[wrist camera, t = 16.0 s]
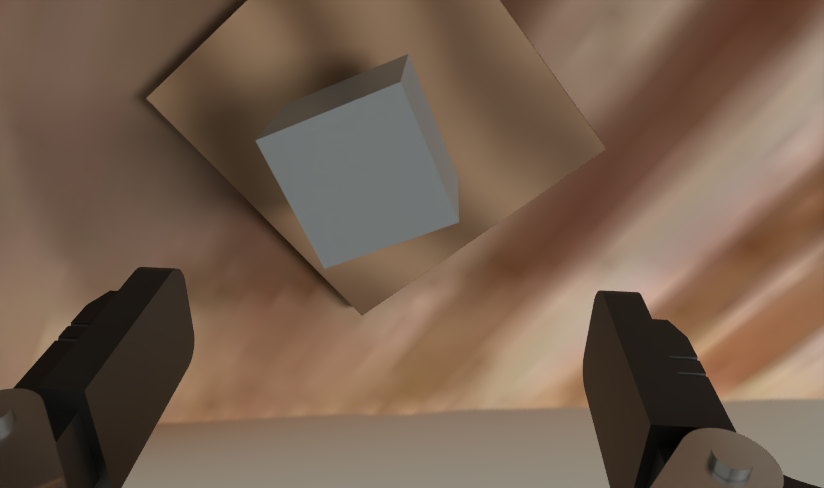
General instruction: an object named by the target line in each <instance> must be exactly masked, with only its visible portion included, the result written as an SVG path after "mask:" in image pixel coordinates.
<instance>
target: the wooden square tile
mask: <svg viewBox="0 0 824 488" xmlns="http://www.w3.org/2000/svg"><path fill="white" fill-rule="evenodd" d="M406 54H409V57H410V59H411V62H412V64H413V67H414V69H415V72H416V74H417V77H418V79H419V81H420V84H421V86H422V89H423V91H424V94H425V96H426V99H427V101H428V104H429V106H430V109H431V111H432V114H433V116H434V118H435V121H436V123H437V126H438V128H439V131H440V133H441V136H442V138H443V141H444V143H445V146H446V148H447V151H448V153H449V155H450V158H451V160H452V163H453V165H454V168H455V170H456V173H457V175H458V200H459V223H456V224H453V225H450V226H447V227H444V228H441V229H438V230H435V231H433V232H430V233H427V234H424V235H421V236H418V237H415V238H412V239H409V240H407V241H404V242H401V243H398V244H395V245H392V246H389V247H386V248H383V249H381V250H378V251H375V252H372V253H369V254H366V255H363V256H360V257H357V258H354V259H352V260H349V261H346V262H343V263H340V264H337V265H334V266H331V267H328V268H326V269H324V267H323V266H322V264H321V262H320V260H319V258H318V256H317V254H316V253H315V251H314V249H313V247H312V245H311V243H310V241H309V239H308V238H307V236H306V234H305V232H304V230H303V228H302V226H301V225H300V223H299V221H298V219H297V217H296V215H295V213H294V212H293V210H292V208H291V206H290V204H289V202H288V200H287V199H286V197H285V195H284V193H283V191H282V189H281V187H280V186H279V184H278V182H277V180H276V178H275V176H274V174H273V173H272V171H271V169H270V167H269V165H268V163H267V161H266V159H265V158H264V156H263V154H262V152H261V150H260V148H259V146H258V145H257V143H256V141H255V140H256V139H257V138H258V137H259V136H260V134H261V133H262V132H263V131H264V129H265V128H266V127H267V126H268V125H269V123H270V122H271V121H272V120H273V119H274V117H275V116H276V115H277V114H278V113H279V111H280V110H281V109H282V108H283V106H284V105H286V104H288V103H290V102H293V101H295V100H298V99H300V98H303V97H305V96H307V95H310V94H312V93H315V92H317V91H319V90H322V89H324V88H327V87H329V86H332V85H334V84H336V83H339V82H341V81H344V80H346V79H348V78H351V77H353V76H356V75H358V74H361V73H363V72H365V71H368V70H370V69H373V68H375V67H377V66H380V65H382V64H385V63H387V62H390V61H392V60H394V59H397V58H399V57H402V56H404V55H406ZM146 99H147V100H148V101H149V102H150V103H151V104H152V105H153V106H154V107H155V108H156V109H157V110H158V111H159V112H160V113H161V114H162V115H163V116H164V117H165V118H166V119H167V120H168V121H169V122H170V123H171V124H172V125H173V126H174V127H175V128H176V129H177V130H178V131H179V132H180V133H181V134H182V135H183V136H184V137H185V138H186V139H187V140H188V141H189V142H190V143H191V144H192V145H193V146H194V147H195V148H196V149H197V150H198V151H199V152H200V153H201V154H202V155H203V156H204V157H205V158H206V159H207V160H208V161H209V162H210V163H211V164H212V165H213V166H214V167H215V168H216V169H217V170H218V171H219V172H220V173H221V174H222V175H223V176H224V177H225V178H226V179H227V180H228V181H229V182H230V183H231V184H232V185H233V186H234V187H235V188H236V189H237V190H238V191H239V192H240V193H241V194H242V195H243V196H244V197H245V198H246V199H247V200H248V201H249V202H250V203H251V204H252V205H253V206H254V207H255V208H256V209H257V210H258V211H259V212H260V213H261V215H262V216H263V217H264V218H265V219H266V220H267V221H268V222H269V223H270V224H271V225H272V226H273V227H274V228H275V229H276V230H277V231H278V232H279V233H280V234H281V235H282V236H283V237H284V238H285V239H286V240H287V241H288V242H289V243H290V244H291V245H292V246H293V247H294V248H295V249H296V250H297V251H298V252H299V253H300V254H301V255H302V256H303V257H304V258H305V259H306V260H307V261H308V262H309V263H310V264H311V265H312V266H313V267H314V268H315V269H316V270H317V271H318V272H319V273H320V274H321V275H322V276H323V277H324V278H325V279H326V280H327V281H328V282H329V283H330V284H331V285H332V286H333V287H334V288H335V289H336V290H337V291H338V292H339V293H340V294H341V295H342V296H343V297H344V298H345V299H346V300H347V301H348V302H349V303H350V304H351V305H352V306H353V307H354V308H355V309H356V310H357V311H358V312H359V313H360V314H361V315H364V314H365V313H367V312H368V311H369V310H371V309H372V308H374V307H375V306H377V305H378V304H380V303H381V302H383V301H384V300H386V299H387V298H389V297H390V296H391V295H393V294H394V293H396V292H397V291H399V290H400V289H402V288H403V287H405V286H406V285H408V284H409V283H411V282H412V281H413V280H415V279H416V278H418V277H419V276H421V275H422V274H424V273H425V272H427V271H428V270H430V269H431V268H432V267H434V266H435V265H437V264H438V263H440V262H441V261H443V260H444V259H446V258H447V257H449V256H450V255H452V254H453V253H454V252H456V251H457V250H459V249H460V248H462V247H463V246H465V245H466V244H468V243H469V242H471V241H472V240H474V239H475V238H476V237H478V236H479V235H481V234H482V233H484V232H485V231H487V230H488V229H490V228H491V227H493V226H494V225H496V224H497V223H498V222H500V221H501V220H503V219H504V218H506V217H507V216H509V215H510V214H512V213H513V212H515V211H516V210H518V209H519V208H520V207H522V206H523V205H525V204H526V203H528V202H529V201H531V200H532V199H534V198H535V197H537V196H538V195H539V194H541V193H542V192H544V191H545V190H547V189H548V188H550V187H551V186H553V185H554V184H556V183H557V182H559V181H560V180H561V179H563V178H564V177H566V176H567V175H569V174H570V173H572V172H573V171H575V170H576V169H578V168H579V167H581V166H582V165H583V164H585V163H586V162H588V161H589V160H591V159H592V158H594V157H595V156H597V155H598V154H600V153H601V152H603V151H604V150H605V149H606V148H605V146H604V145H603V143H602V142H601V140H600V139H599V137H598V136H597V135H596V133H595V132H594V130H593V129H592V128H591V126H590V125H589V124H588V122H587V121H586V119H585V118H584V117H583V115H582V114H581V112H580V111H579V110H578V108H577V107H576V105H575V104H574V103H573V101H572V100H571V98H570V97H569V96H568V94H567V93H566V91H565V90H564V89H563V87H562V86H561V84H560V83H559V82H558V80H557V79H556V77H555V76H554V75H553V73H552V72H551V71H550V69H549V68H548V66H547V65H546V64H545V62H544V61H543V59H542V58H541V57H540V55H539V54H538V52H537V51H536V50H535V48H534V47H533V45H532V44H531V43H530V41H529V40H528V38H527V37H526V36H525V34H524V33H523V31H522V30H521V29H520V27H519V26H518V25H517V23H516V22H515V20H514V19H513V18H512V16H511V15H510V13H509V12H508V11H507V9H506V8H505V6H504V5H503V4H502V2H501V1H500V0H247V1H246V2H245V3H244V4H243V5H242V6H241V7H240V8H239V9H238V10H237V11H236V12H235V13H234V14H232V15H231V16H230V17H229V18H228V19H227V20H226V21H225V22H224V23H223V24H222V25H221V26H220V27H219V28H218V29H217V30H216V31H215V32H214V33H213V34H212V35H211V36H210V37H209V38H208V39H207V40H206V41H205V42H204V43H203V44H202V45H201V46H200V47H198V48H197V49H196V50H195V51H194V52H193V53H192V54H191V55H190V56H189V57H188V58H187V59H186V60H185V61H184V62H183V63H182V64H181V65H180V66H179V67H178V68H177V69H176V70H175V71H174V72H173V73H172V74H171V75H170V76H169V77H168V78H167V79H166V80H164V81H163V82H162V83H161V84H160V85H159V86H158V87H157V88H156V89H155V90H154V91H153V92H152V93H151V94H150V95H149V96H148V97H147V98H146Z"/></svg>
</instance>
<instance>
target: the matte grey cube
mask: <svg viewBox="0 0 824 488" xmlns="http://www.w3.org/2000/svg"><path fill="white" fill-rule="evenodd" d="M255 141H256V143H257V145H258V146H259V148H260V150H261V152H262V154H263V156H264V158H265V159H266V161H267V163H268V165H269V167H270V169H271V171H272V173H273V174H274V176H275V178H276V180H277V182H278V184H279V186H280V187H281V189H282V191H283V193H284V195H285V197H286V199H287V200H288V202H289V204H290V206H291V208H292V210H293V212H294V213H295V215H296V217H297V219H298V221H299V223H300V225H301V226H302V228H303V230H304V232H305V234H306V236H307V238H308V239H309V241H310V243H311V245H312V247H313V249H314V251H315V253H316V254H317V256H318V258H319V260H320V262H321V264H322V266H323V267H324V269H326V268H328V267H331V266H334V265H337V264H340V263H343V262H346V261H349V260H352V259H354V258H357V257H360V256H363V255H366V254H369V253H372V252H375V251H378V250H381V249H383V248H386V247H389V246H392V245H395V244H398V243H401V242H404V241H407V240H409V239H412V238H415V237H418V236H421V235H424V234H427V233H430V232H433V231H435V230H438V229H441V228H444V227H447V226H450V225H453V224H456V223H459V200H458V175H457V173H456V170H455V168H454V165H453V163H452V160H451V158H450V155H449V153H448V151H447V148H446V146H445V143H444V141H443V138H442V136H441V133H440V131H439V128H438V126H437V123H436V121H435V118H434V116H433V114H432V111H431V109H430V106H429V104H428V101H427V99H426V96H425V94H424V91H423V89H422V86H421V84H420V81H419V79H418V77H417V74H416V72H415V69H414V67H413V64H412V62H411V59H410V57H409V54H406V55H404V56H402V57H399V58H397V59H394V60H392V61H390V62H387V63H385V64H382V65H380V66H377V67H375V68H373V69H370V70H368V71H365V72H363V73H361V74H358V75H356V76H353V77H351V78H348V79H346V80H344V81H341V82H339V83H336V84H334V85H332V86H329V87H327V88H324V89H322V90H319V91H317V92H315V93H312V94H310V95H307V96H305V97H303V98H300V99H298V100H295V101H293V102H290V103H288V104H286V105H284V106H283V108H282V109H281V110H280V111H279V113H278V114H277V115H276V116H275V117H274V119H273V120H272V121H271V122H270V123H269V125H268V126H267V127H266V128H265V129H264V131H263V132H262V133H261V134H260V136H259V137H258V138H257V139H256V140H255Z"/></svg>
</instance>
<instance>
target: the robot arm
mask: <svg viewBox="0 0 824 488" xmlns="http://www.w3.org/2000/svg"><path fill="white" fill-rule="evenodd" d="M193 350H194V330H193V324H192V319H191V313H190V307H189V301H188V295H187V290H186V284H185V279H184V275H183V273H182V272H181V270H179V269H172V268H152V267H139V268H137V269H136V270H135V271H134V272H133V274H132V275H131V276H130V277H129V278H128V280H127V281H126V282H125V283H124V284H123V286H122V287H121V288H120V289H119V290H118V291H109V292H107V293H106V294H104V295H102V296H101V297H99V298H97V299H96V300H94V301H92V302H91V303H89V304H88V305H86V306H85V307H84V308H83V310H82V311H81V312H80V313H79V314H78V315H77V316H76V318H75V319H74V320H73V321H72V322H71V326H68V327H67V328H66V329H65V330H64V331H63V332H62V333H61V335H60V336H59V339H58V341H54V343H53V344H52V345H51V346H50V347H49V348H48V349H47V350H46V352H45V353H44V354H43V355H42V356H41V357H40V358H39V360H38V361H37V362H36V363H35V364H34V365H33V366H32V368H31V369H30V370H29V371H28V372H27V373H26V374H25V375H24V377H23V378H22V379H21V380H20V381H19V382H18V383H17V385H16V386H15V387H14V388H12V389H3V390H0V488H121V487H122V486H123V484H124V482H125V480H126V478H127V477H128V475H129V473H130V471H131V469H132V468H133V466H134V464H135V462H136V460H137V458H138V456H139V455H140V453H141V451H142V450H143V448H144V446H145V444H146V442H147V441H148V439H149V437H150V435H151V433H152V431H153V429H154V428H155V426H156V424H157V422H158V421H159V419H160V417H161V415H162V413H163V412H164V410H165V408H166V406H167V404H168V403H169V401H170V399H171V397H172V395H173V394H174V392H175V390H176V388H177V386H178V385H179V383H180V381H181V379H182V377H183V376H184V374H185V372H186V370H187V368H188V367H189V364H190V362H191V359H192V355H193ZM583 381H584V388H585V392H586V396H587V400H588V404H589V407H590V411H591V415H592V419H593V423H594V426H595V431H596V434H597V438H598V442H599V446H600V450H601V453H602V457H603V461H604V465H605V469H606V473H607V477H608V480H609V485H610V488H821V487H817V486H814V485H810V484H807V483H804V482H800V481H798V480H795V479H792V478H790V477H787V476H785V475H783V473H782V470H781V468H780V466H779V464H778V463H777V461H776V460H775V459H774V457H773V456H772V455H771V454H770V453H769V452H768V451H767V450H765V449H764V448H763V447H762V446H760V445H759V444H758V443H756V442H755V441H753V440H751V439H749V438H747V437H745V436H743V435H741V434H738V433H736V431H735V429H734V427H733V425H732V423H731V421H730V419H729V417H728V415H727V413H726V411H725V409H724V407H723V405H722V403H721V402H720V400H719V398H718V396H717V394H716V392H715V390H714V388H713V386H712V384H711V382H710V380H709V378H708V377H706V373H705V371H704V369H703V367H702V365H701V363H700V361H697V355H696V353H695V351H694V349H693V347H692V345H691V343H690V342H689V340H688V338H687V337H686V336H685V335H684V334H683V333H682V332H681V331H679V330H678V329H677V328H676V327H675V326H674V325H673V324H671V323H670V322H669V321H668V320H657V319H652V318H651V315H650V313H649V311H648V309H647V307H646V305H645V302H644V300H643V298H642V296H641V294H640V293H638V292H620V291H598V292H597V294H596V296H595V299H594V304H593V309H592V315H591V320H590V325H589V331H588V336H587V341H586V347H585V352H584V359H583Z"/></svg>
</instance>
